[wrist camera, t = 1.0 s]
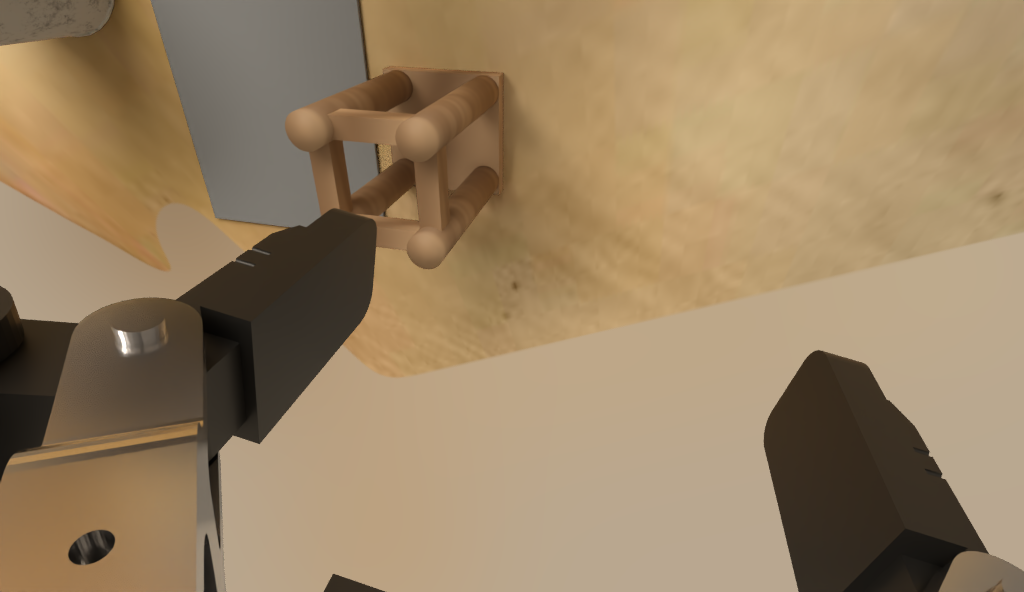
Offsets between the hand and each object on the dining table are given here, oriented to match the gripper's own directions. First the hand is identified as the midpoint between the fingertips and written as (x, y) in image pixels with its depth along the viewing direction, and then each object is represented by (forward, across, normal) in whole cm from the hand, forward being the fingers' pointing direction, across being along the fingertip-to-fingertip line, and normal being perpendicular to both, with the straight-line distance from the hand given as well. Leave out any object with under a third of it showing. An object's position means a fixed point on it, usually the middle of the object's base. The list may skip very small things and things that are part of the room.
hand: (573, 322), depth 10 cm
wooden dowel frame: (+24, +10, +5) cm, 27 cm away
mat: (+24, +21, +7) cm, 33 cm away
